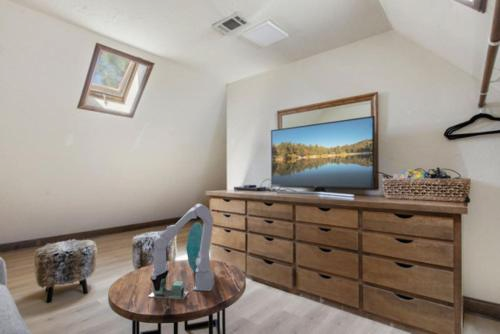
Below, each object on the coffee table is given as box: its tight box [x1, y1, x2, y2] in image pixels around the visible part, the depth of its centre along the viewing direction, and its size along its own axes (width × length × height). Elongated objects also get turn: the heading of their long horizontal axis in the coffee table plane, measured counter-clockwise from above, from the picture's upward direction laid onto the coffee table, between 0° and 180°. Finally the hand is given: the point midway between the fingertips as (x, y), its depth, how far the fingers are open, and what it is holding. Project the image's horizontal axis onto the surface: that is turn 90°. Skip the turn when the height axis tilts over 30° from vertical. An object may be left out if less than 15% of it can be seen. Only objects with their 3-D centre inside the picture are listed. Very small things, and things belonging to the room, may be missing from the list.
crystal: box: [185, 222, 203, 273], centre depth 160 cm, size 12×14×30 cm
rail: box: [147, 280, 190, 300], centre depth 130 cm, size 18×7×6 cm, turn 84°
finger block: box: [152, 278, 167, 294], centre depth 130 cm, size 4×5×6 cm
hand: (159, 288), depth 130 cm, fingers closed on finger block, 5 cm apart
